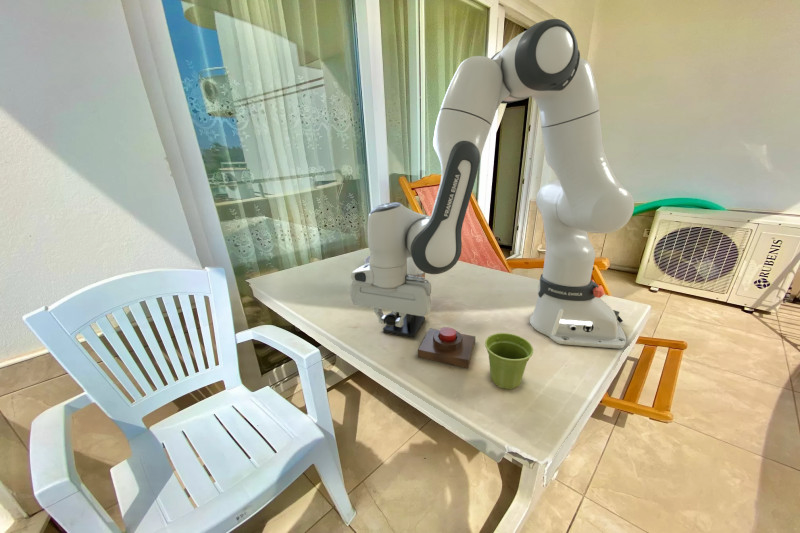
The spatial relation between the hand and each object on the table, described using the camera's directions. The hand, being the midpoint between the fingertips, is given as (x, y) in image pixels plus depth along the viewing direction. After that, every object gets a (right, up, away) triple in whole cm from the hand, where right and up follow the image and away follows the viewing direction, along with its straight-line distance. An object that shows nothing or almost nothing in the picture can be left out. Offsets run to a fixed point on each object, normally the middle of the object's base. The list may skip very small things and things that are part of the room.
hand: (391, 324), depth 76 cm
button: (+14, -3, -2) cm, 14 cm away
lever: (+2, +3, +4) cm, 5 cm away
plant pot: (+25, -10, -11) cm, 29 cm away
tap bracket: (+4, -2, +10) cm, 11 cm away
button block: (+14, -6, -1) cm, 15 cm away
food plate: (-1, +15, +58) cm, 60 cm away
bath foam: (+7, +2, +23) cm, 24 cm away
